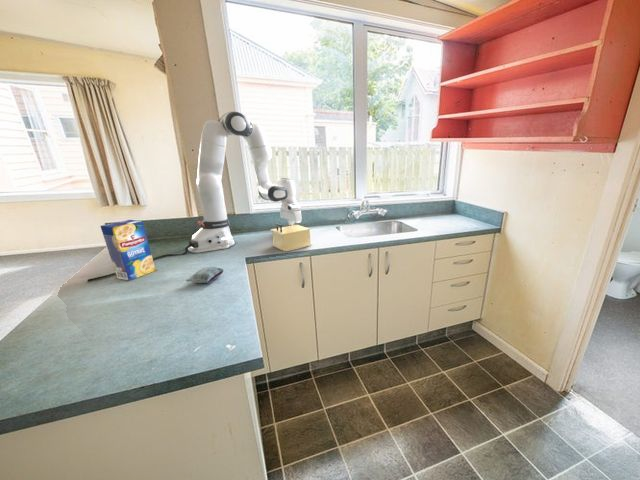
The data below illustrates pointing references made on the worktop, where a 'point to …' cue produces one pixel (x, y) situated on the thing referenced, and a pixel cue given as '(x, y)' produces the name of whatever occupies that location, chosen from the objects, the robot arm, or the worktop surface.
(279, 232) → the lid
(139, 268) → the beverage box
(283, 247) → the yellow open box
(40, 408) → the worktop surface
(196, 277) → the packaged food
